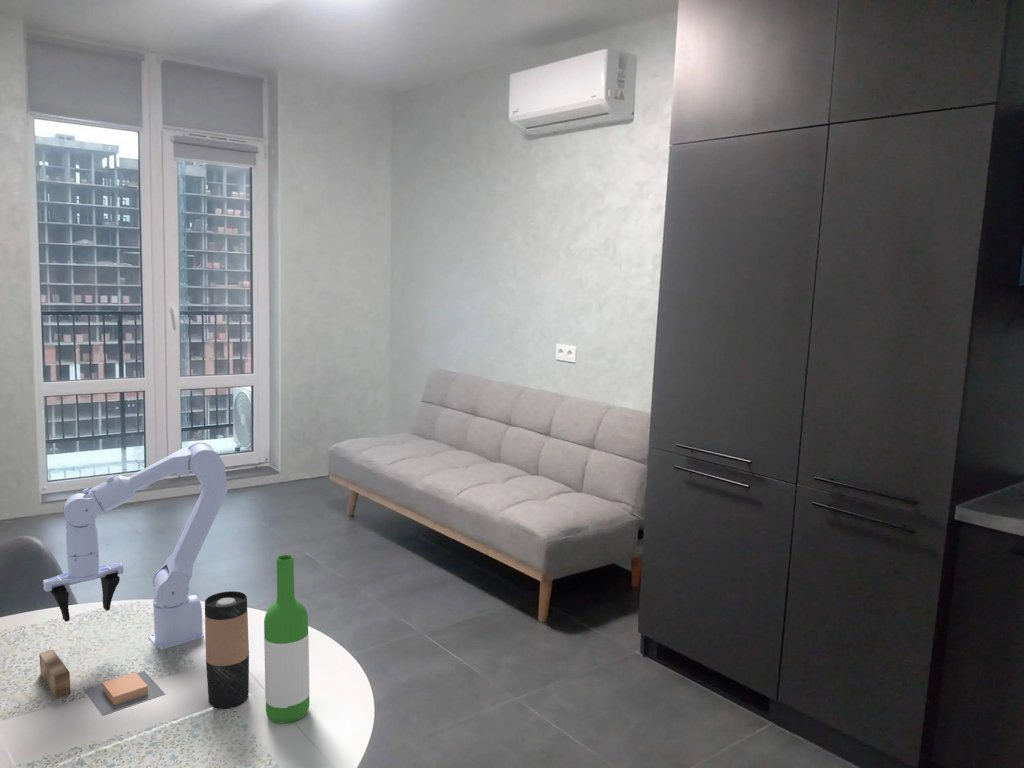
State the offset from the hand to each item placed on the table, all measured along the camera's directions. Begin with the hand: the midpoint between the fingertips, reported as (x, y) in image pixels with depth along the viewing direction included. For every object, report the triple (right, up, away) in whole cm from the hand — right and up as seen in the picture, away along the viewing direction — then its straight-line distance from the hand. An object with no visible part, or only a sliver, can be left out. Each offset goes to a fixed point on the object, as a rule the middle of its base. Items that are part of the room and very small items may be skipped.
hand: (86, 614), depth 158 cm
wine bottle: (+48, -13, -19) cm, 53 cm away
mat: (+15, -11, -13) cm, 23 cm away
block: (+13, -10, -11) cm, 19 cm away
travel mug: (+35, -12, -14) cm, 40 cm away
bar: (0, -11, -11) cm, 15 cm away
